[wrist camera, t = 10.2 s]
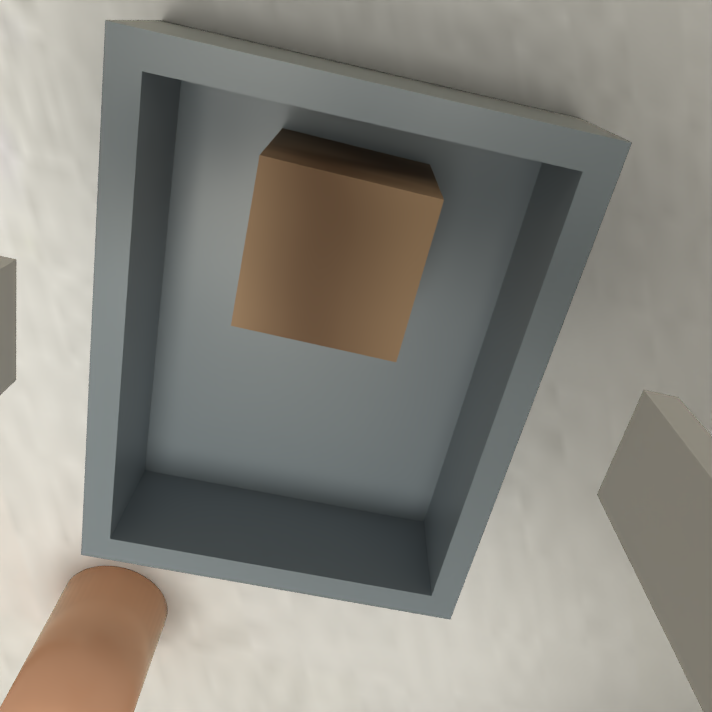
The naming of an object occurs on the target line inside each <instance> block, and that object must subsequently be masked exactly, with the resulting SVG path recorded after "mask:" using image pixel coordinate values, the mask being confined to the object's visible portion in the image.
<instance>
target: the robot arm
mask: <svg viewBox="0 0 712 712" xmlns="http://www.w3.org/2000/svg"><path fill="white" fill-rule="evenodd" d="M15 381H16V259H12V258H7V257H2V256H0V395H1V394H2V393H3V392H4V391H5V390H6V389H7V388H8V387H9V386H10V385H11V384H12V383H14V382H15ZM597 495H598V497H599V499H600V501H601V503H602V505H603V507H604V509H605V512H606V514H607V516H608V518H609V520H610V522H611V524H612V526H613V528H614V530H615V532H616V534H617V536H618V538H619V540H620V542H621V544H622V546H623V548H624V550H625V552H626V554H627V556H628V559H629V561H630V563H631V565H632V567H633V569H634V571H635V573H636V575H637V577H638V579H639V581H640V583H641V585H642V587H643V589H644V591H645V593H646V595H647V597H648V599H649V601H650V603H651V605H652V608H653V610H654V612H655V614H656V616H657V618H658V620H659V622H660V624H661V626H662V628H663V630H664V632H665V634H666V636H667V638H668V640H669V642H670V644H671V646H672V648H673V650H674V652H675V655H676V657H677V659H678V661H679V663H680V665H681V667H682V669H683V671H684V673H685V675H686V677H687V679H688V681H689V683H690V685H691V687H692V689H693V691H694V693H695V695H696V697H697V699H698V702H699V704H700V706H701V708H702V710H703V712H712V436H711V435H710V434H709V433H708V432H707V431H706V429H705V428H704V427H703V426H702V425H701V424H700V422H699V421H698V420H697V419H696V418H695V417H694V415H693V414H692V413H691V412H690V411H689V409H688V408H687V407H686V406H685V405H684V404H683V402H682V401H681V400H680V399H679V398H678V397H675V396H670V395H665V394H661V393H656V392H651V391H646V390H644V391H643V393H642V395H641V397H640V399H639V402H638V404H637V406H636V408H635V411H634V413H633V415H632V417H631V420H630V422H629V424H628V426H627V429H626V431H625V433H624V435H623V438H622V440H621V442H620V444H619V447H618V449H617V451H616V453H615V456H614V458H613V460H612V462H611V465H610V467H609V469H608V471H607V474H606V476H605V478H604V480H603V482H602V485H601V487H600V489H599V491H598V494H597Z"/></svg>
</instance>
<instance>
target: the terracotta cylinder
mask: <svg viewBox="0 0 712 712" xmlns="http://www.w3.org/2000/svg"><path fill="white" fill-rule="evenodd" d="M166 617H167V604H166V601H165V598H164V596H163V594H162V593H161V591H160V590H159V589H158V588H157V586H156V585H155V584H153V583H152V582H151V581H150V580H149V579H147V578H146V577H144V576H142V575H141V574H139V573H136V572H134V571H132V570H129V569H125V568H121V567H115V566H98V567H92V568H89V569H85V570H83V571H81V572H79V573H78V574H76V575H75V576H74V577H73V578H71V580H70V581H69V582H68V584H67V585H66V587H65V589H64V591H63V593H62V595H61V597H60V598H59V600H58V602H57V604H56V606H55V608H54V609H53V611H52V613H51V615H50V617H49V619H48V620H47V622H46V624H45V626H44V628H43V630H42V632H41V633H40V635H39V637H38V639H37V641H36V643H35V644H34V646H33V648H32V650H31V652H30V654H29V655H28V657H27V659H26V661H25V663H24V665H23V666H22V668H21V670H20V672H19V674H18V676H17V678H16V679H15V681H14V683H13V685H12V687H11V689H10V690H9V692H8V694H7V696H6V698H5V700H4V701H3V703H2V705H1V707H0V712H134V710H135V707H136V704H137V701H138V698H139V696H140V693H141V690H142V687H143V684H144V681H145V678H146V675H147V672H148V670H149V667H150V664H151V661H152V658H153V655H154V652H155V649H156V646H157V644H158V641H159V638H160V635H161V632H162V629H163V626H164V623H165V620H166Z"/></svg>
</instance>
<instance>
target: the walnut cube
mask: <svg viewBox="0 0 712 712" xmlns="http://www.w3.org/2000/svg"><path fill="white" fill-rule="evenodd" d="M443 202H444V199H443V196H442V194H441V191H440V189H439V186H438V183H437V181H436V178H435V176H434V173H433V171H432V168H431V166H430V164H426V163H422V162H418V161H414V160H409V159H405V158H401V157H397V156H393V155H389V154H385V153H381V152H377V151H373V150H369V149H365V148H361V147H357V146H353V145H349V144H345V143H341V142H337V141H333V140H329V139H324V138H320V137H316V136H312V135H308V134H304V133H300V132H296V131H292V130H288V129H284V128H282V129H281V130H280V132H279V133H278V134H277V135H276V136H275V137H274V139H273V140H272V141H271V142H270V143H269V144H268V146H267V147H266V148H265V149H264V150H263V152H262V153H261V154H260V155H259V161H258V167H257V173H256V179H255V185H254V191H253V197H252V203H251V209H250V215H249V221H248V227H247V233H246V239H245V245H244V251H243V256H242V262H241V268H240V274H239V280H238V286H237V292H236V298H235V304H234V310H233V316H232V322H231V326H234V327H239V328H243V329H248V330H252V331H257V332H261V333H266V334H270V335H275V336H279V337H284V338H288V339H293V340H297V341H302V342H306V343H311V344H315V345H320V346H325V347H329V348H334V349H338V350H343V351H347V352H352V353H356V354H361V355H365V356H370V357H374V358H379V359H383V360H388V361H392V362H397V358H398V355H399V351H400V348H401V345H402V341H403V338H404V334H405V331H406V328H407V324H408V321H409V317H410V314H411V311H412V307H413V304H414V300H415V297H416V294H417V290H418V287H419V283H420V280H421V277H422V273H423V270H424V266H425V263H426V260H427V256H428V253H429V249H430V246H431V242H432V239H433V236H434V232H435V229H436V225H437V222H438V219H439V215H440V212H441V208H442V205H443Z"/></svg>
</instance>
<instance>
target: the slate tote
mask: <svg viewBox="0 0 712 712" xmlns="http://www.w3.org/2000/svg"><path fill="white" fill-rule="evenodd" d="M282 128H284V129H288V130H292V131H296V132H300V133H304V134H308V135H312V136H316V137H320V138H324V139H329V140H333V141H337V142H341V143H345V144H349V145H353V146H357V147H361V148H365V149H369V150H373V151H377V152H381V153H385V154H389V155H393V156H397V157H401V158H405V159H409V160H414V161H418V162H422V163H426V164H430V166H431V168H432V171H433V173H434V176H435V178H436V181H437V183H438V186H439V189H440V191H441V194H442V196H443V199H444V202H443V205H442V208H441V212H440V215H439V219H438V222H437V225H436V229H435V232H434V236H433V239H432V242H431V246H430V249H429V253H428V256H427V260H426V263H425V266H424V270H423V273H422V277H421V280H420V283H419V287H418V290H417V294H416V297H415V300H414V304H413V307H412V311H411V314H410V317H409V321H408V324H407V328H406V331H405V334H404V338H403V341H402V345H401V348H400V351H399V355H398V358H397V362H392V361H388V360H383V359H379V358H374V357H370V356H365V355H361V354H356V353H352V352H347V351H343V350H338V349H334V348H329V347H325V346H320V345H315V344H311V343H306V342H302V341H297V340H293V339H288V338H284V337H279V336H275V335H270V334H266V333H261V332H257V331H252V330H248V329H243V328H239V327H234V326H231V322H232V316H233V310H234V304H235V298H236V292H237V286H238V280H239V274H240V268H241V262H242V256H243V251H244V245H245V239H246V233H247V227H248V221H249V215H250V209H251V203H252V197H253V191H254V185H255V179H256V173H257V167H258V161H259V155H260V154H261V153H262V152H263V150H264V149H265V148H266V147H267V146H268V144H269V143H270V142H271V141H272V140H273V139H274V137H275V136H276V135H277V134H278V133H279V132H280V130H281V129H282ZM631 144H632V142H630V141H627V140H625V139H623V138H621V137H619V136H617V135H615V134H612V133H610V132H608V131H606V130H604V129H602V128H600V127H597V126H595V125H593V124H591V123H589V122H587V121H585V120H583V119H580V118H576V117H572V116H567V115H563V114H559V113H554V112H550V111H546V110H542V109H537V108H533V107H529V106H525V105H520V104H516V103H512V102H507V101H503V100H499V99H495V98H490V97H486V96H482V95H477V94H473V93H469V92H465V91H460V90H456V89H452V88H448V87H443V86H439V85H435V84H430V83H426V82H422V81H418V80H413V79H409V78H405V77H400V76H396V75H392V74H388V73H383V72H379V71H375V70H370V69H366V68H362V67H358V66H353V65H349V64H345V63H341V62H336V61H332V60H328V59H323V58H319V57H315V56H311V55H306V54H302V53H298V52H293V51H289V50H285V49H281V48H276V47H272V46H268V45H264V44H259V43H255V42H251V41H246V40H242V39H238V38H234V37H229V36H225V35H221V34H216V33H212V32H208V31H204V30H199V29H195V28H191V27H187V26H182V25H178V24H174V23H169V22H165V21H161V20H105V40H104V62H103V84H102V106H101V128H100V150H99V173H98V195H97V217H96V239H95V261H94V283H93V305H92V328H91V350H90V372H89V394H88V416H87V438H86V461H85V483H84V505H83V527H82V549H81V555H86V556H91V557H97V558H103V559H109V560H114V561H120V562H126V563H131V564H137V565H143V566H148V567H154V568H160V569H166V570H171V571H177V572H183V573H188V574H194V575H200V576H205V577H211V578H217V579H223V580H228V581H234V582H240V583H245V584H251V585H257V586H262V587H268V588H274V589H280V590H285V591H291V592H297V593H302V594H308V595H314V596H320V597H325V598H331V599H337V600H342V601H348V602H354V603H359V604H365V605H371V606H377V607H382V608H388V609H394V610H399V611H405V612H411V613H416V614H422V615H428V616H434V617H439V618H445V619H451V616H452V613H453V611H454V608H455V606H456V603H457V600H458V598H459V595H460V592H461V590H462V587H463V585H464V582H465V579H466V577H467V574H468V571H469V569H470V566H471V564H472V561H473V558H474V556H475V553H476V550H477V548H478V545H479V543H480V540H481V537H482V535H483V532H484V529H485V527H486V524H487V522H488V519H489V516H490V514H491V511H492V508H493V506H494V503H495V501H496V498H497V495H498V493H499V490H500V487H501V485H502V482H503V480H504V477H505V474H506V472H507V469H508V466H509V464H510V461H511V459H512V456H513V453H514V451H515V448H516V445H517V443H518V440H519V438H520V435H521V432H522V430H523V427H524V424H525V422H526V419H527V417H528V414H529V411H530V409H531V406H532V403H533V401H534V398H535V396H536V393H537V390H538V388H539V385H540V382H541V380H542V377H543V375H544V372H545V369H546V367H547V364H548V361H549V359H550V356H551V354H552V351H553V348H554V346H555V343H556V340H557V338H558V335H559V333H560V330H561V327H562V325H563V322H564V319H565V317H566V314H567V312H568V309H569V306H570V304H571V301H572V298H573V296H574V293H575V291H576V288H577V285H578V283H579V280H580V277H581V275H582V272H583V270H584V267H585V264H586V262H587V259H588V256H589V254H590V251H591V249H592V246H593V243H594V241H595V238H596V235H597V233H598V230H599V228H600V225H601V222H602V220H603V217H604V214H605V212H606V209H607V207H608V204H609V201H610V199H611V196H612V193H613V191H614V188H615V186H616V183H617V180H618V178H619V175H620V172H621V170H622V167H623V165H624V162H625V159H626V157H627V154H628V151H629V149H630V146H631Z"/></svg>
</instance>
